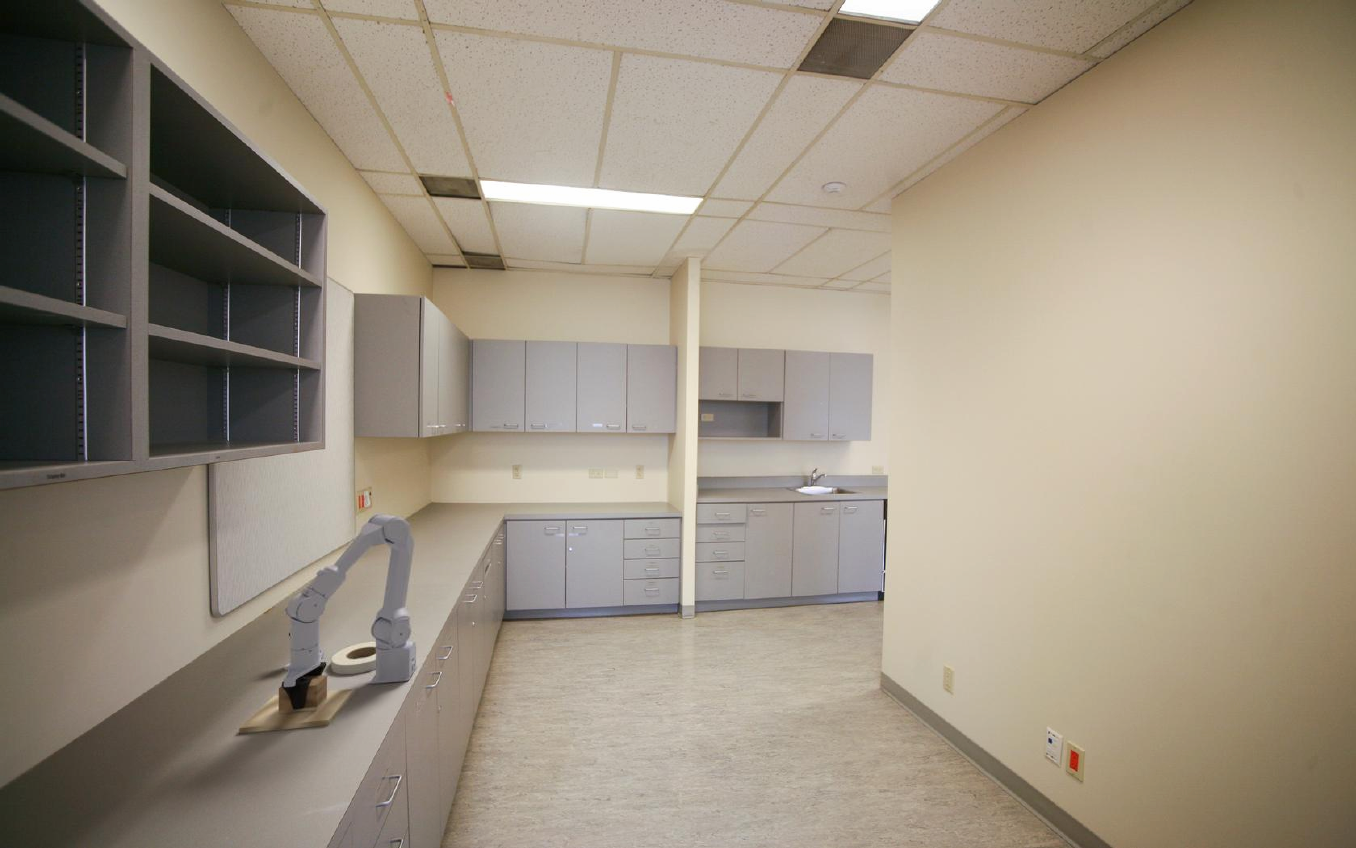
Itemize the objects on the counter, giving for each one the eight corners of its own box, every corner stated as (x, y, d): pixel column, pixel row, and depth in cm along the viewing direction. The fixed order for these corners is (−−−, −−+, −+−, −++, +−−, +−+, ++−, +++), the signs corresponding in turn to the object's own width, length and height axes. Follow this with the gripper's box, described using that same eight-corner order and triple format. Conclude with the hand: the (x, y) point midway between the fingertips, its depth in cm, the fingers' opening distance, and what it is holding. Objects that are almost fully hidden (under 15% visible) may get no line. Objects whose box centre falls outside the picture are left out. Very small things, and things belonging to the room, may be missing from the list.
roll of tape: (318, 668, 147) (318, 657, 147) (370, 646, 161) (370, 637, 161) (354, 680, 140) (354, 669, 140) (405, 656, 154) (405, 647, 154)
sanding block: (326, 699, 128) (327, 675, 128) (316, 710, 123) (317, 685, 123) (290, 702, 126) (290, 677, 126) (278, 714, 121) (278, 688, 121)
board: (354, 693, 133) (354, 688, 133) (328, 725, 119) (328, 719, 119) (274, 700, 129) (274, 695, 129) (239, 733, 116) (239, 728, 116)
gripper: (301, 634, 131) (301, 688, 131) (268, 660, 116) (268, 721, 117) (333, 632, 132) (332, 685, 132) (303, 658, 118) (303, 717, 118)
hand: (304, 702), depth 124 cm, fingers closed on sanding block, 5 cm apart
